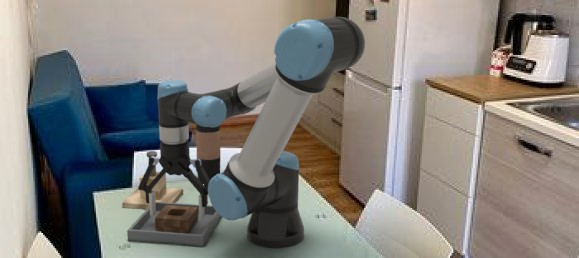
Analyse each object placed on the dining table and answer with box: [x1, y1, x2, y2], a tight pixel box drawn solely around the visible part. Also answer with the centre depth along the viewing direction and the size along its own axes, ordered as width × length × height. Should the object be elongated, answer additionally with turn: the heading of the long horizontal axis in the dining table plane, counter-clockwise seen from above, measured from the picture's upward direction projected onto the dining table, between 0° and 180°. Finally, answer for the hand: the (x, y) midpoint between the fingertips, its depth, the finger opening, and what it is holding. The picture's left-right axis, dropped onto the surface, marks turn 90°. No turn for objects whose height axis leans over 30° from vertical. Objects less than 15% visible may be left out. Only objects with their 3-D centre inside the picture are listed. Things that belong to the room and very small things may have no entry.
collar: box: [155, 205, 198, 234], centre depth 172 cm, size 9×9×4 cm
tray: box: [126, 202, 222, 248], centre depth 172 cm, size 20×20×3 cm
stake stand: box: [121, 150, 184, 210], centre depth 189 cm, size 14×14×15 cm
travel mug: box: [195, 124, 221, 184], centre depth 205 cm, size 8×8×20 cm
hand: (177, 216), depth 171 cm, fingers open, 13 cm apart
